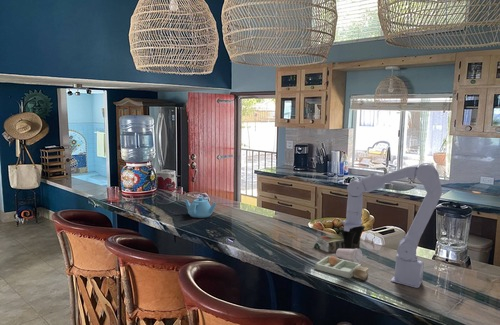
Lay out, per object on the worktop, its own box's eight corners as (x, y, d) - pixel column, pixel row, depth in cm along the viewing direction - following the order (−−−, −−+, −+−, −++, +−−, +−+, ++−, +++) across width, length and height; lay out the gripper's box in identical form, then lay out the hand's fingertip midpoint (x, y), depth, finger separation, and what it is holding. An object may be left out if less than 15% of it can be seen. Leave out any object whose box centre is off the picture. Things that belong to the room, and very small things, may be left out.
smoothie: (341, 242, 166) (370, 247, 155) (344, 256, 167) (373, 262, 156) (332, 249, 162) (360, 254, 151) (335, 263, 163) (363, 269, 152)
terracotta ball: (338, 264, 155) (339, 256, 155) (335, 267, 152) (335, 258, 152) (330, 262, 157) (330, 254, 157) (326, 265, 154) (327, 256, 154)
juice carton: (326, 255, 169) (327, 241, 169) (312, 248, 178) (313, 235, 177) (360, 250, 179) (361, 237, 179) (345, 244, 188) (346, 231, 187)
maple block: (367, 278, 145) (368, 268, 144) (364, 281, 141) (365, 271, 141) (357, 275, 147) (358, 265, 147) (353, 279, 144) (354, 268, 143)
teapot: (183, 213, 232) (183, 195, 231) (207, 211, 239) (207, 194, 238) (191, 219, 219) (192, 200, 218) (216, 217, 226) (217, 199, 225)
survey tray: (360, 271, 152) (361, 264, 152) (349, 280, 142) (350, 273, 142) (327, 262, 160) (327, 255, 159) (314, 270, 150) (315, 263, 150)
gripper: (350, 206, 158) (348, 239, 159) (337, 212, 146) (334, 247, 147) (368, 209, 154) (365, 243, 155) (355, 215, 142) (352, 252, 143)
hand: (351, 245), depth 151 cm, fingers open, 7 cm apart
